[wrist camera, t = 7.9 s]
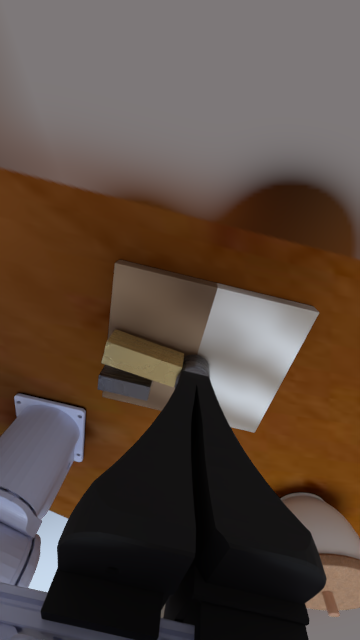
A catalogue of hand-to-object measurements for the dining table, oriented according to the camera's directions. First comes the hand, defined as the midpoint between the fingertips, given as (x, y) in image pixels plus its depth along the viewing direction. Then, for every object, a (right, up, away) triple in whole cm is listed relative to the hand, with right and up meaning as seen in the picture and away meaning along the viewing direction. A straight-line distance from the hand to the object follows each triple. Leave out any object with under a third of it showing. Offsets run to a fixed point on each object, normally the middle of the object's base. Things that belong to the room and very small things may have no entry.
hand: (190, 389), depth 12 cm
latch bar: (-2, 0, +9) cm, 10 cm away
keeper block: (-5, -1, +11) cm, 12 cm away
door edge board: (+1, 0, +11) cm, 11 cm away
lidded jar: (+15, -21, +20) cm, 33 cm away
